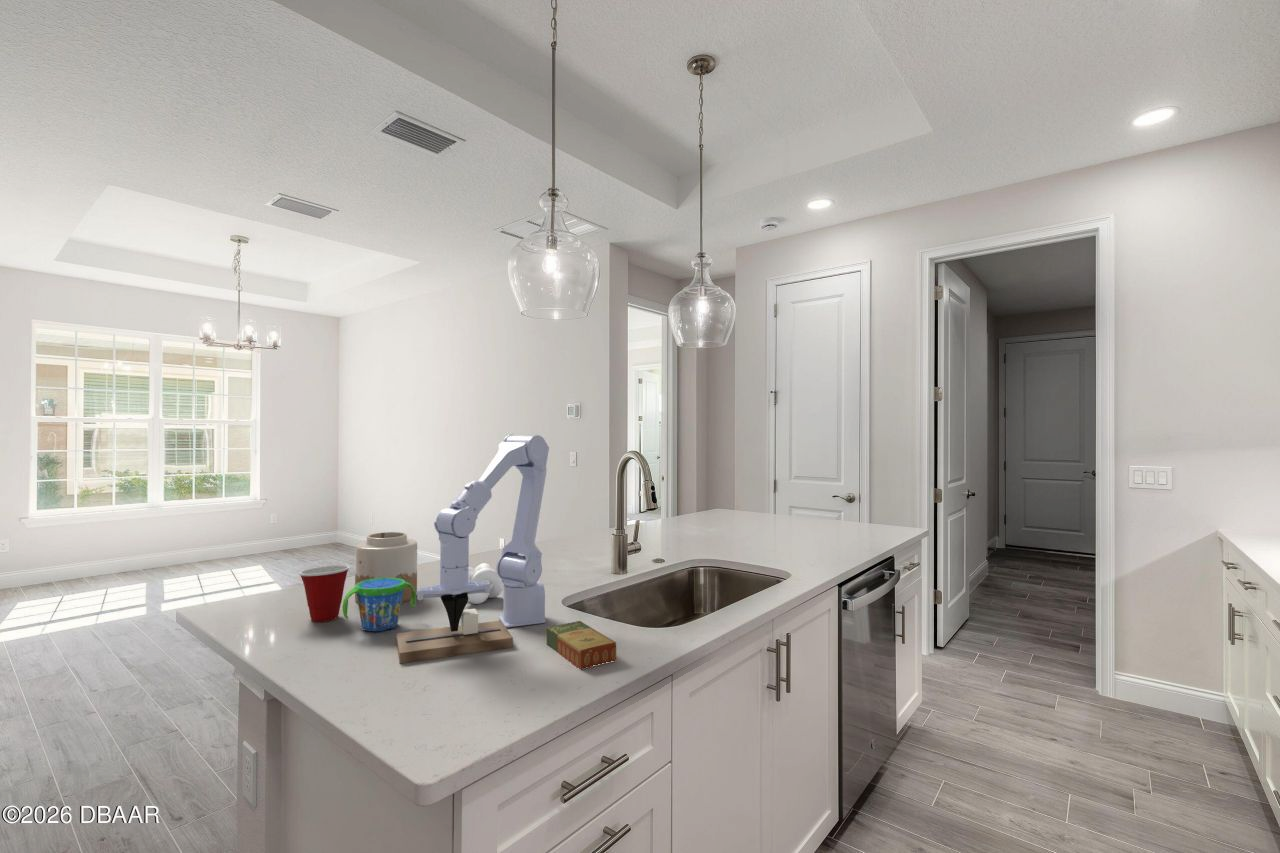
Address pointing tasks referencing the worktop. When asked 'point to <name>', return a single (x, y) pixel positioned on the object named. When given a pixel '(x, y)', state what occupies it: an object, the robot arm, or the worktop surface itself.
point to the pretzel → (484, 575)
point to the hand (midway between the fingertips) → (453, 629)
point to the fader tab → (469, 621)
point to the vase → (387, 560)
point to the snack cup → (379, 602)
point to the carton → (581, 644)
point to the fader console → (451, 642)
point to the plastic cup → (324, 591)
